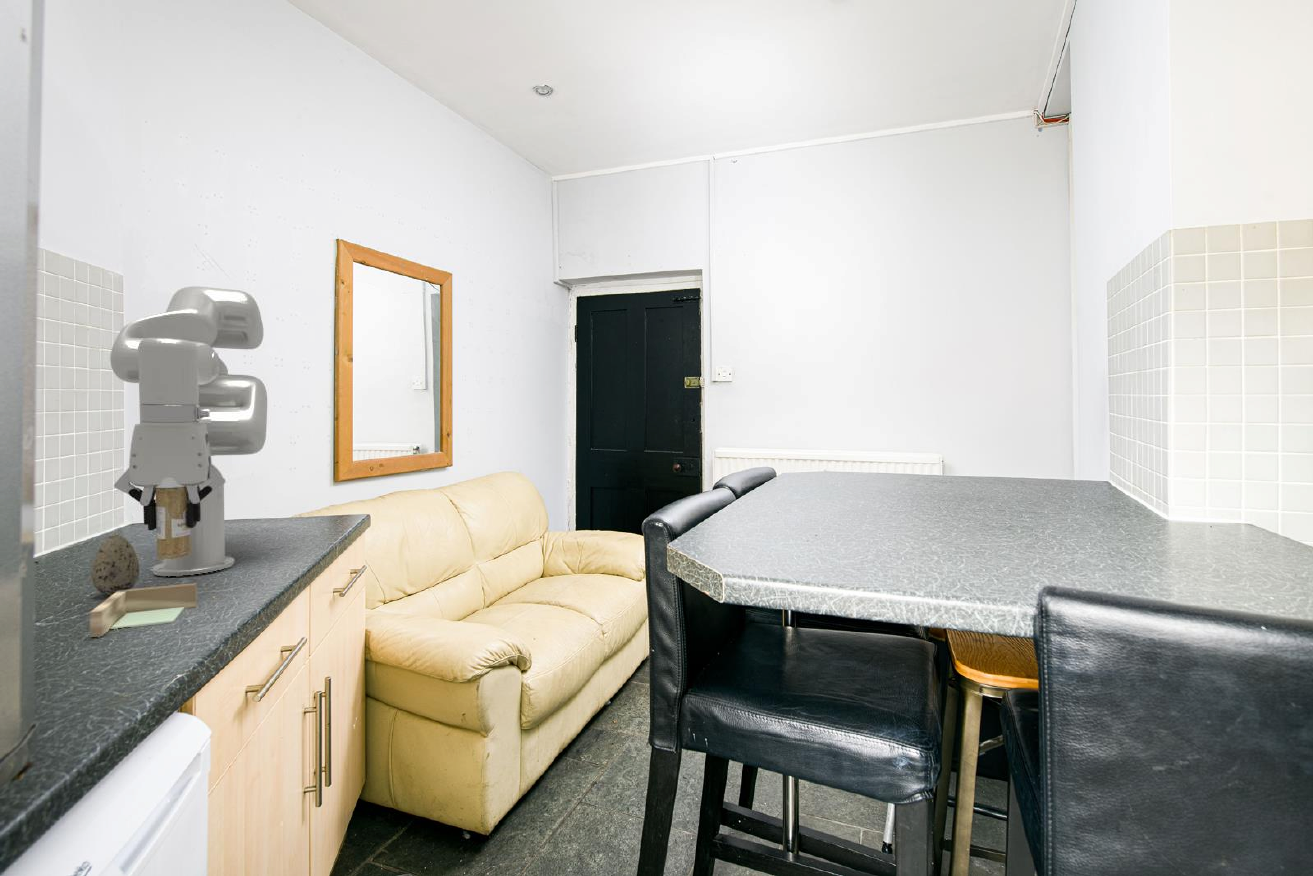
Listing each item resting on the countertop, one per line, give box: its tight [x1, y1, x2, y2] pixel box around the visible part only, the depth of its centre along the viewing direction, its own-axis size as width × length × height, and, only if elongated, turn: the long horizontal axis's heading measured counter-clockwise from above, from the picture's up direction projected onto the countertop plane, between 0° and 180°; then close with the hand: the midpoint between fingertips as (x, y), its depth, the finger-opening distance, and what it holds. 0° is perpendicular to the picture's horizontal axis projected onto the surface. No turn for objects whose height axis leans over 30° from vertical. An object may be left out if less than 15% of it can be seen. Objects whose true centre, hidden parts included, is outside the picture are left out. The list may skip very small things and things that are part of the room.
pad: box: [110, 607, 186, 630], centre depth 89 cm, size 7×7×1 cm
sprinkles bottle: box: [155, 478, 191, 559], centre depth 99 cm, size 5×5×13 cm
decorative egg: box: [90, 534, 140, 596], centre depth 101 cm, size 6×6×10 cm
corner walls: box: [89, 582, 198, 638], centre depth 89 cm, size 12×10×4 cm
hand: (173, 526), depth 99 cm, fingers closed on sprinkles bottle, 4 cm apart
